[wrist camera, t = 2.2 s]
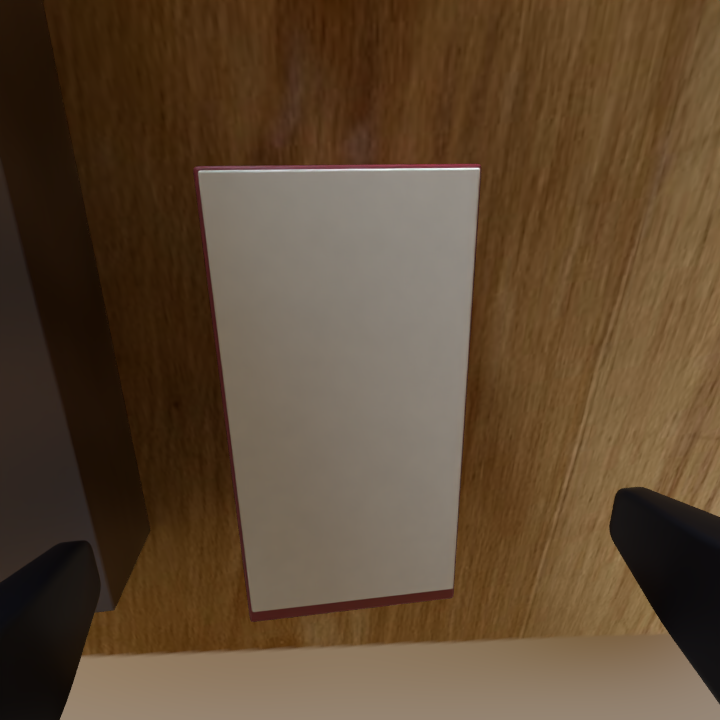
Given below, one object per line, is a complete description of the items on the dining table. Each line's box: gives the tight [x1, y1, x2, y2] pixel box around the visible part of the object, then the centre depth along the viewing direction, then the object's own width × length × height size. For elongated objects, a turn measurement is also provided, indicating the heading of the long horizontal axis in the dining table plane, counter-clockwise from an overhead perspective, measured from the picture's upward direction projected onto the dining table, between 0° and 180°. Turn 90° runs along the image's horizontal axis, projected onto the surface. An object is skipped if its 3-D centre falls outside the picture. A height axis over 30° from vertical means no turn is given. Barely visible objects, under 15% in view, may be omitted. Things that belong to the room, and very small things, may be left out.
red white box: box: [193, 164, 481, 622], centre depth 13 cm, size 12×6×5 cm, turn 1°
